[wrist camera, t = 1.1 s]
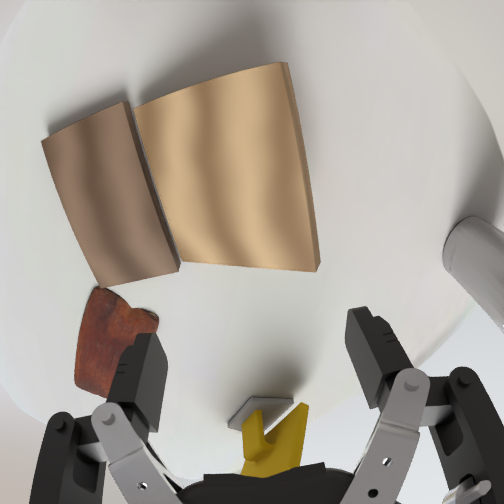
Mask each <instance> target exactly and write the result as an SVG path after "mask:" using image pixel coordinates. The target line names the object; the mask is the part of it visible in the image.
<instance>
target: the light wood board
mask: <svg viewBox="0 0 504 504" xmlns="http://www.w3.org/2000/svg"><path fill="white" fill-rule="evenodd" d="M134 113H135V117H136V121H137V124H138V128H139V131H140V135H141V138H142V142H143V145H144V149H145V152H146V155H147V159H148V162H149V165H150V168H151V172H152V175H153V178H154V181H155V184H156V187H157V191H158V194H159V197H160V200H161V203H162V206H163V209H164V212H165V214H166V217H167V220H168V223H169V226H170V229H171V232H172V235H173V237H174V240H175V243H176V246H177V248H178V251H179V254H180V257H181V259H182V261H185V262H196V263H207V264H219V265H230V266H242V267H254V268H266V269H278V270H291V271H304V272H316V271H317V269H318V267H319V265H320V262H321V261H320V252H319V243H318V235H317V227H316V219H315V212H314V204H313V197H312V191H311V184H310V177H309V171H308V165H307V159H306V153H305V147H304V141H303V136H302V130H301V125H300V120H299V115H298V109H297V104H296V100H295V95H294V90H293V85H292V81H291V76H290V72H289V67H288V63H284V62H277V63H272V64H268V65H263V66H259V67H255V68H251V69H247V70H243V71H239V72H235V73H232V74H228V75H225V76H221V77H218V78H215V79H211V80H208V81H205V82H202V83H199V84H196V85H193V86H190V87H187V88H184V89H181V90H179V91H176V92H173V93H171V94H168V95H165V96H163V97H160V98H158V99H155V100H153V101H150V102H148V103H146V104H143V105H141V106H139V107H136V108H134Z"/></svg>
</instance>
